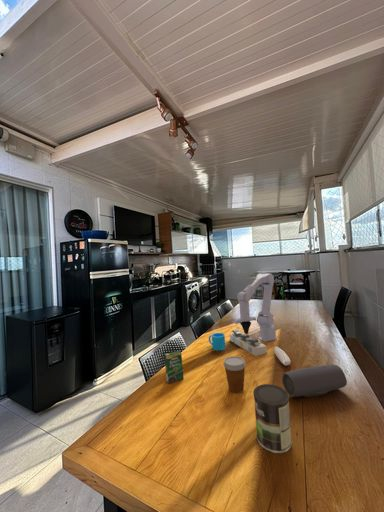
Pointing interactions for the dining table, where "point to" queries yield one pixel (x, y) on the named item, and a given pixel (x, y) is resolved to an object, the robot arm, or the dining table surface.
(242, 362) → the disposable coffee cup
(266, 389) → the coffee can
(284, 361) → the white corn cob
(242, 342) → the power strip
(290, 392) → the bluetooth speaker
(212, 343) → the mug
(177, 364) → the coffee box
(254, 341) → the rocker slate
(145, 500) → the dining table surface
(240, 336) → the rocker dark gray
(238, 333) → the dark grey block
